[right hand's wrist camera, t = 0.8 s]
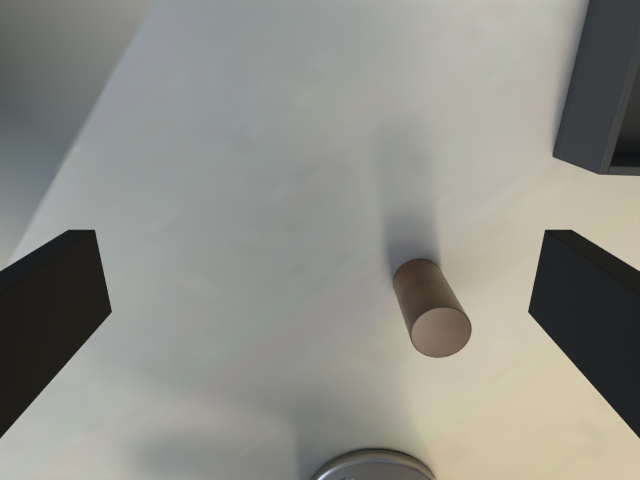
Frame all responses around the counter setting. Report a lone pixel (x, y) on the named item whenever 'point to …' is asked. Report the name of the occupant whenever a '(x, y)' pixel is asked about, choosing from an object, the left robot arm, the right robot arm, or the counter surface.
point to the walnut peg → (430, 309)
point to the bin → (605, 93)
